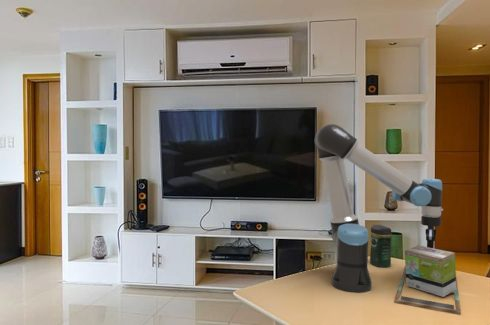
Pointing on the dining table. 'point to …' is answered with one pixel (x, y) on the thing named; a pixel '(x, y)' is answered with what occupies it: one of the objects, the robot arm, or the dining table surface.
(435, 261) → the tea box
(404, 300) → the tray
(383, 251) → the coffee jar
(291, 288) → the dining table surface
